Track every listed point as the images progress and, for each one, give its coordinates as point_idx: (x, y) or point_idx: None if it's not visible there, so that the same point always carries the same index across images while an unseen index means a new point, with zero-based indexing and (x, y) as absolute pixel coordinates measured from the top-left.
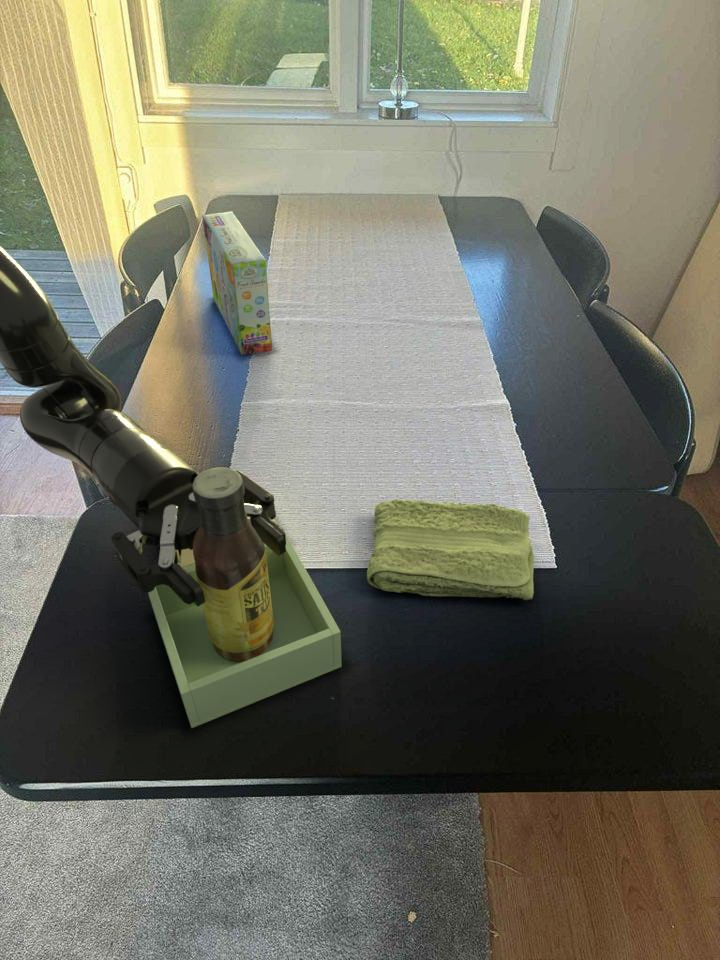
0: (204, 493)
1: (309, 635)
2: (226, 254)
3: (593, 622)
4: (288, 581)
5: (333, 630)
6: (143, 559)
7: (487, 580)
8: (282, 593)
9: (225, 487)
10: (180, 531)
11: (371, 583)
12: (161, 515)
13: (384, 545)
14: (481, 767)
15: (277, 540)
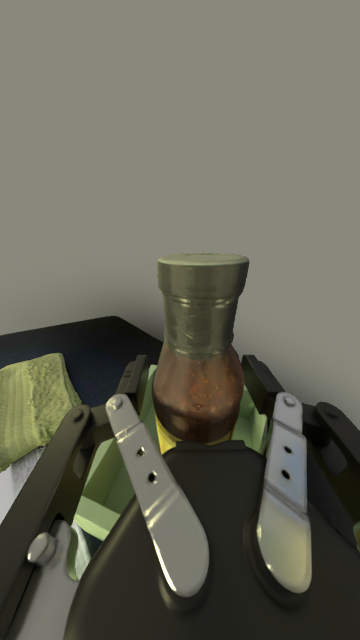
0: (232, 254)
1: (150, 419)
2: None
3: (66, 342)
4: (107, 498)
5: (154, 367)
6: (336, 431)
7: (58, 362)
8: (127, 484)
9: (197, 254)
10: (256, 458)
11: None
12: (319, 607)
13: (33, 426)
14: (153, 337)
15: (146, 355)
